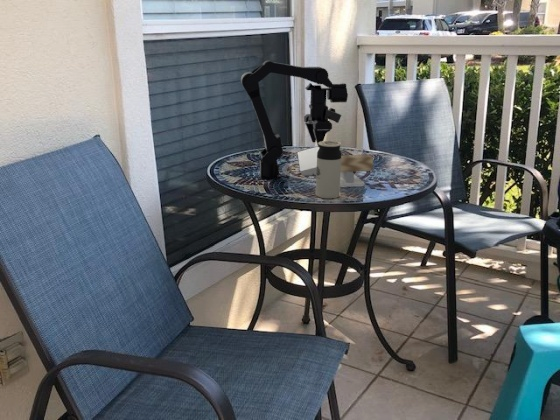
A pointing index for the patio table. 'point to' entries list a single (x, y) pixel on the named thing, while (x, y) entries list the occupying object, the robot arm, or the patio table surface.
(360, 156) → the oak bar
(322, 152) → the travel mug
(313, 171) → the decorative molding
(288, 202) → the patio table surface
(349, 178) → the fulcrum stand
